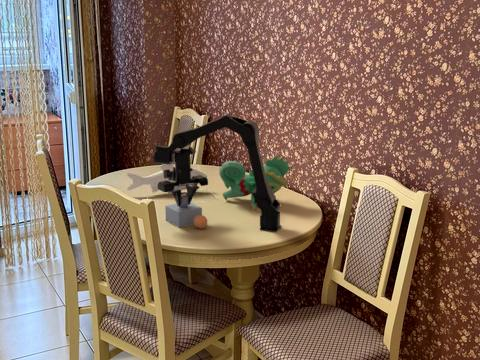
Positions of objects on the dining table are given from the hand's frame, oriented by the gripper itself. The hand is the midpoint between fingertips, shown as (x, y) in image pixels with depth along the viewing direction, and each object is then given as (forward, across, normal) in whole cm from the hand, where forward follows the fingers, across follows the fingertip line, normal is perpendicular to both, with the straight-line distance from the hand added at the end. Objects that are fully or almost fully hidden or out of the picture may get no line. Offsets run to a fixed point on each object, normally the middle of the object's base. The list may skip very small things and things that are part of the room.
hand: (183, 205), depth 223 cm
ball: (+4, -1, +10) cm, 11 cm away
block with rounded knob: (+6, 0, 0) cm, 6 cm away
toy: (+6, -36, -3) cm, 36 cm away
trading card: (+7, -24, -25) cm, 35 cm away
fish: (+6, -13, -36) cm, 39 cm away
